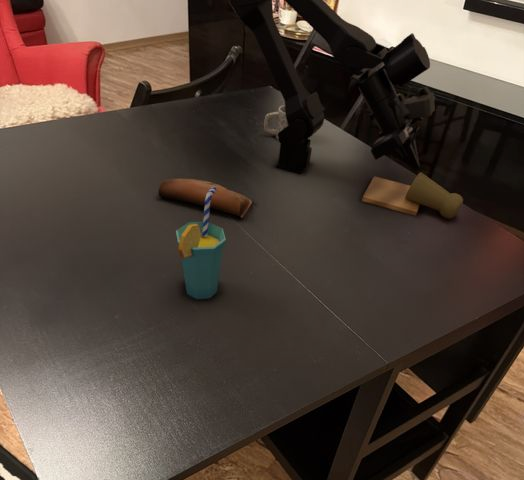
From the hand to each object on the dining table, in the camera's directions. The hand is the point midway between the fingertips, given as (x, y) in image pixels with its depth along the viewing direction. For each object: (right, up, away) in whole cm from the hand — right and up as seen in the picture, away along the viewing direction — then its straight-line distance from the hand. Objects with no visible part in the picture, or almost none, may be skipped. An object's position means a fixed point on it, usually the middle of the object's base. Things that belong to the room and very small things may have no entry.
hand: (417, 168), depth 101 cm
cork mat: (-3, -4, +6) cm, 8 cm away
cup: (-43, -28, -20) cm, 55 cm away
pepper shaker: (0, -3, +2) cm, 4 cm away
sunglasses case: (-44, -8, -2) cm, 45 cm away
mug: (-28, +17, +24) cm, 40 cm away
